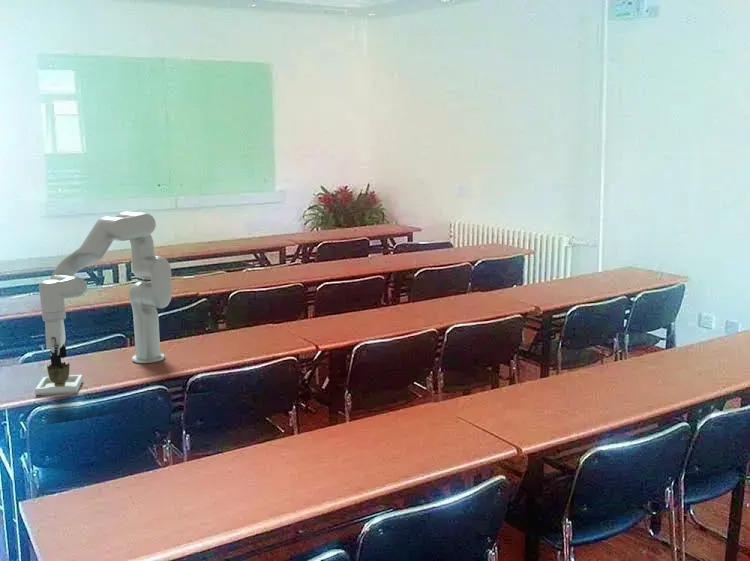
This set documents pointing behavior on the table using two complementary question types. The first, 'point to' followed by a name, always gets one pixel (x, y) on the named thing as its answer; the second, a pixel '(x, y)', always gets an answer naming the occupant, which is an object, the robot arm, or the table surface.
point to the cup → (59, 374)
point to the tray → (49, 389)
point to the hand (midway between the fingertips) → (59, 361)
